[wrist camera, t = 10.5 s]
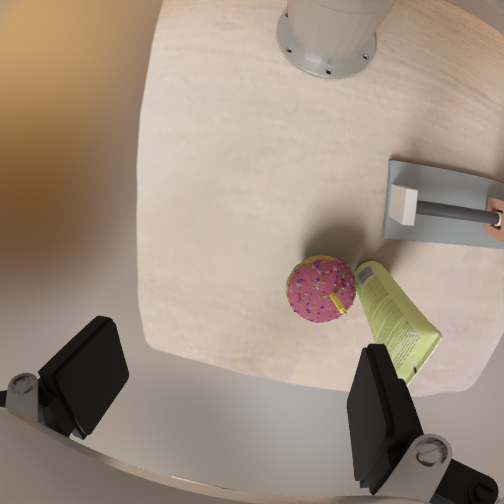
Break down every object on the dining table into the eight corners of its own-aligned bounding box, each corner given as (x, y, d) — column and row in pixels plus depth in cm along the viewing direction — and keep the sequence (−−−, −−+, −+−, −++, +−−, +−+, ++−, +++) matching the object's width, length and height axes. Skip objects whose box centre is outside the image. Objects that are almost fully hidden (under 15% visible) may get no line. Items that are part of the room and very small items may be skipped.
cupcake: (331, 233, 36) (346, 266, 25) (360, 284, 38) (382, 332, 26) (275, 266, 39) (267, 311, 27) (307, 313, 40) (309, 368, 29)
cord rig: (382, 236, 35) (402, 256, 28) (388, 160, 32) (412, 161, 25) (517, 249, 32) (545, 265, 24) (526, 189, 29) (557, 198, 21)
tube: (390, 289, 37) (444, 382, 19) (358, 302, 39) (393, 403, 20) (381, 254, 36) (443, 336, 18) (347, 267, 37) (385, 361, 19)
